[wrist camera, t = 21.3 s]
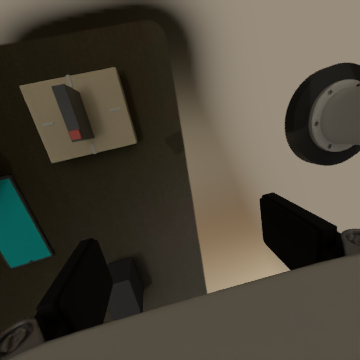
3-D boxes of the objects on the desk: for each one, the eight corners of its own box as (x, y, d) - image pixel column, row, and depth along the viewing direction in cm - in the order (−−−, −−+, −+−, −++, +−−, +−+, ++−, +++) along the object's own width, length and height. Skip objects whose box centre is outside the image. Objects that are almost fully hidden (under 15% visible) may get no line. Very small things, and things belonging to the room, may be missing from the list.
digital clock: (108, 263, 35) (100, 288, 29) (132, 256, 35) (128, 279, 30) (121, 297, 37) (116, 326, 32) (143, 290, 37) (143, 317, 32)
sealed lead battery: (68, 93, 24) (49, 85, 20) (79, 91, 24) (63, 83, 20) (84, 140, 26) (71, 142, 21) (95, 138, 26) (83, 139, 22)
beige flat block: (118, 72, 27) (114, 65, 24) (138, 142, 30) (136, 144, 27) (32, 89, 26) (17, 84, 23) (61, 160, 29) (51, 164, 26)
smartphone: (8, 174, 28) (53, 256, 32) (12, 173, 29) (56, 253, 33) (-43, 189, 27) (9, 270, 32) (-38, 187, 28) (13, 266, 33)
